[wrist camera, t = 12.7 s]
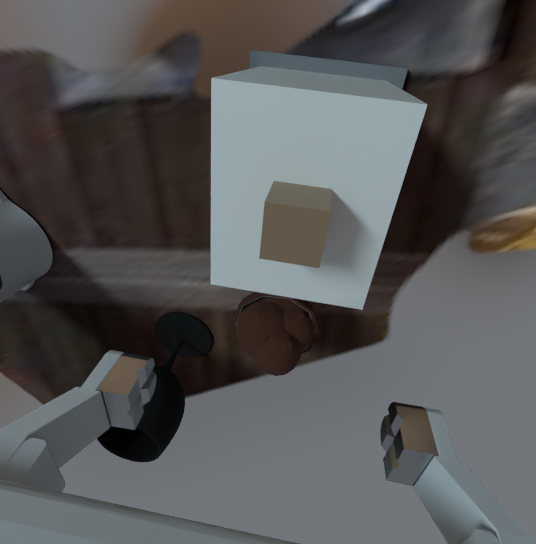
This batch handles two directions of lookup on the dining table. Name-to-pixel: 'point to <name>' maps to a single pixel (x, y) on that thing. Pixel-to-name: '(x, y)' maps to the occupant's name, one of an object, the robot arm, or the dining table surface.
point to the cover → (305, 180)
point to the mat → (328, 66)
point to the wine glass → (161, 392)
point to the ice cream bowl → (275, 330)
